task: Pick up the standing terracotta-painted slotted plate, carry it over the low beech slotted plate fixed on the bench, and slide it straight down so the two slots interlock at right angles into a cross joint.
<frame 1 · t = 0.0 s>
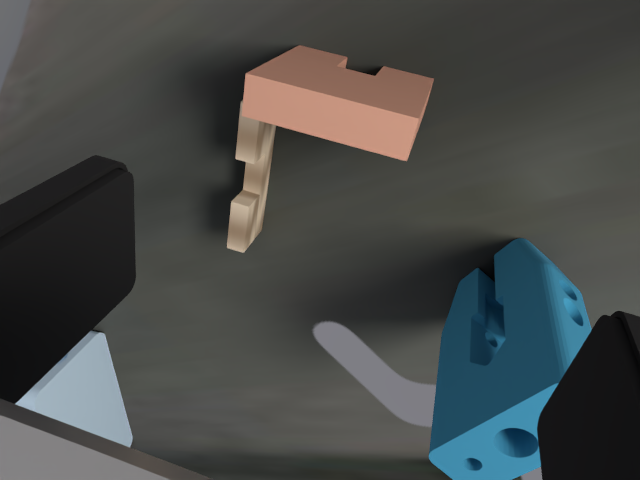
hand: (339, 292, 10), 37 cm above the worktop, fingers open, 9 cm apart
pale blue box: (106, 384, 77), on the worktop
terracotta plate: (361, 79, 44), on the worktop
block: (504, 276, 50), on the worktop
slot plate base: (262, 164, 51), on the worktop
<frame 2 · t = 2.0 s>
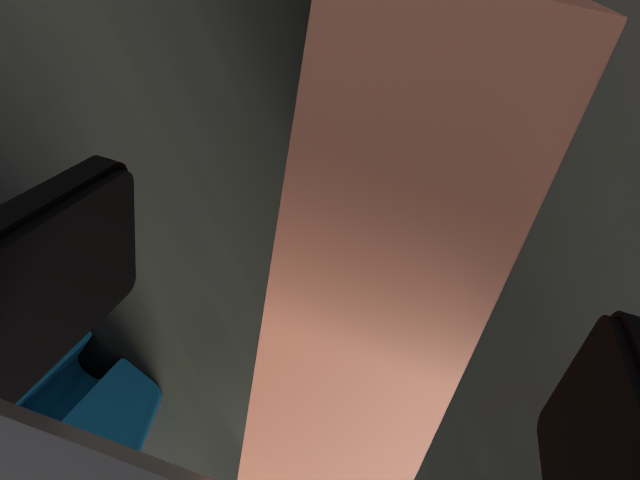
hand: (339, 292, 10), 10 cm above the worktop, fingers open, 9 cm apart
terracotta plate: (429, 154, 18), on the worktop
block: (95, 364, 30), on the worktop
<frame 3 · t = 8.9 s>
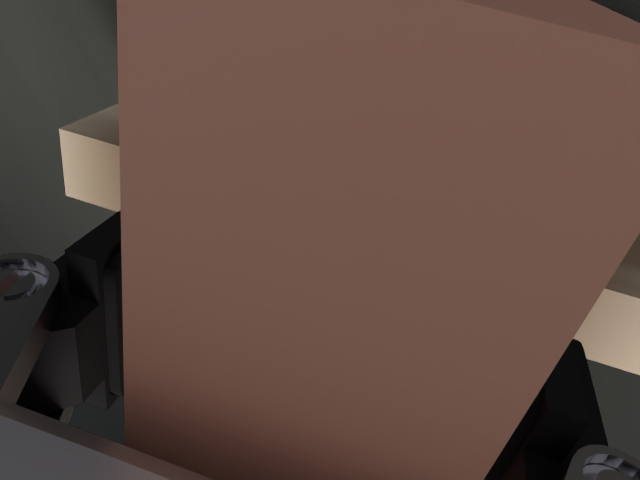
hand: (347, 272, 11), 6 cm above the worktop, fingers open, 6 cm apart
terracotta plate: (394, 174, 16), on the worktop
slot plate base: (389, 171, 16), on the worktop
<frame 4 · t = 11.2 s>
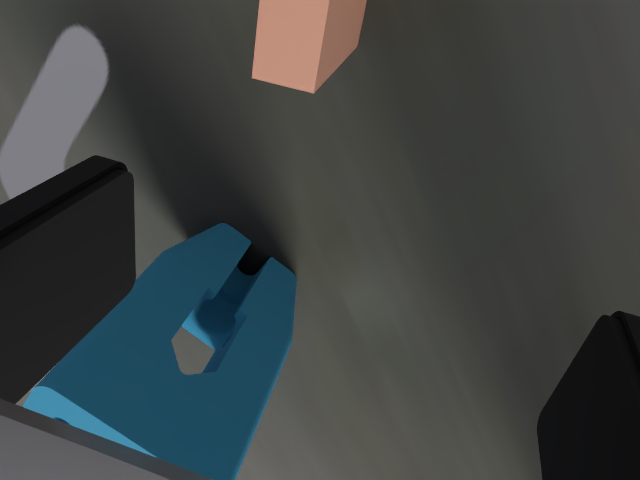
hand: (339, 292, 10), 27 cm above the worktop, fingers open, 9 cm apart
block: (247, 265, 45), on the worktop
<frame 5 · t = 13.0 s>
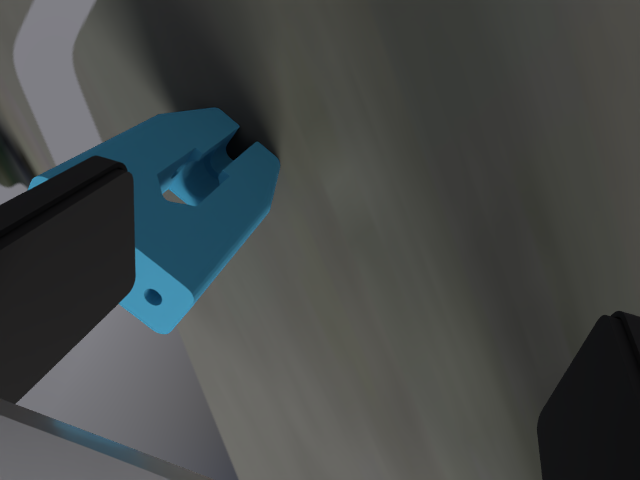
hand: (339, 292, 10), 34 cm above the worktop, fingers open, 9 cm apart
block: (236, 151, 49), on the worktop
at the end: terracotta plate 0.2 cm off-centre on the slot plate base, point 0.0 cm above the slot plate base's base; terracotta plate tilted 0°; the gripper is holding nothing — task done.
